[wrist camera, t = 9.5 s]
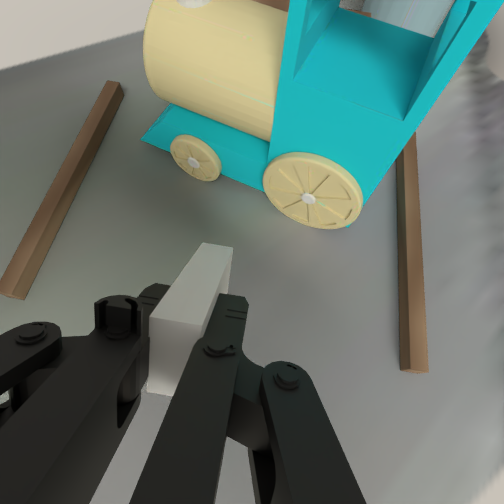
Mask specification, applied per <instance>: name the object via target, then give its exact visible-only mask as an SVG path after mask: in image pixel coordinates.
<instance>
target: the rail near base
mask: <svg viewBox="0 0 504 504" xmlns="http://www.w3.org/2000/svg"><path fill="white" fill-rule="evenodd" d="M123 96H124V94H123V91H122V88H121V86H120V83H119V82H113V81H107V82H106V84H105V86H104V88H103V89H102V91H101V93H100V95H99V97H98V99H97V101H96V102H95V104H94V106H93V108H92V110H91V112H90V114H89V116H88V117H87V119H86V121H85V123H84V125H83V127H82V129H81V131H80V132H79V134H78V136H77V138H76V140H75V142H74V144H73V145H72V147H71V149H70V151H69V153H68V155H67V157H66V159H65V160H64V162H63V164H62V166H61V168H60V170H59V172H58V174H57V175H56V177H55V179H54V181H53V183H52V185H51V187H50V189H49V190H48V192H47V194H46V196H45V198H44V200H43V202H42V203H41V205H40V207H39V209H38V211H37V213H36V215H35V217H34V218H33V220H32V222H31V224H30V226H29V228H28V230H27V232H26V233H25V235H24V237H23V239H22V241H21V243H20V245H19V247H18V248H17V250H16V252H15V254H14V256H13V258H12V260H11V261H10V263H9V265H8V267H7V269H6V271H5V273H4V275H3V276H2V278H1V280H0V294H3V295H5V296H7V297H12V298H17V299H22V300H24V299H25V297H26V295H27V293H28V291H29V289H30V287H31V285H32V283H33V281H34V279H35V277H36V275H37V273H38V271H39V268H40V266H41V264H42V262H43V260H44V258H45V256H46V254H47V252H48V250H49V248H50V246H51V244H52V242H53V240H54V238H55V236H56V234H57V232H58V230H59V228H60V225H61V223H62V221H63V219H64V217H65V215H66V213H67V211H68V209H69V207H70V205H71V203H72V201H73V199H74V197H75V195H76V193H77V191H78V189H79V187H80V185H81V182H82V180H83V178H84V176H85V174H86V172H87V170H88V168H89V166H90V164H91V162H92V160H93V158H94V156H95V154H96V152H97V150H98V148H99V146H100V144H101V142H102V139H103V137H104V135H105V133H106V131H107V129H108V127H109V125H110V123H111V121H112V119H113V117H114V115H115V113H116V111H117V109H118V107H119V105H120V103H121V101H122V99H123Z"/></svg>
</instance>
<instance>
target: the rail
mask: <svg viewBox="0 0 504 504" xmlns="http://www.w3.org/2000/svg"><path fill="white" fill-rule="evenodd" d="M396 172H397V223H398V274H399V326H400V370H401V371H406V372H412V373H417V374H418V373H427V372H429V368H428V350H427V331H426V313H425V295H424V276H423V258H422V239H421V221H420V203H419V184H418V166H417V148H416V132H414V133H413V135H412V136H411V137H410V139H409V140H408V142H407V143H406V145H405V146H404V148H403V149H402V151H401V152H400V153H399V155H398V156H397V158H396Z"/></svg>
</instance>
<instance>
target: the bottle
mask: <svg viewBox="0 0 504 504" xmlns="http://www.w3.org/2000/svg"><path fill="white" fill-rule="evenodd" d="M452 1H453V0H365V2H364V5H363V8H362V11H363V12H369V13H371V18H374V19H377V20H380V21H383V22H386V23H389V24H392V25H395V26H398V27H401V28H404V29H407V30H411V31H414V32H417V33H420V34H423V35H426V36H429V37H433V35H434V33H435V31H436V29H437V28H438V26H439V24H440V22H441V20H442V19H443V17H444V15H445V13H446V11H447V10H448V8H449V6H450V4H451V2H452Z"/></svg>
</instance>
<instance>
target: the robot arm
mask: <svg viewBox="0 0 504 504" xmlns="http://www.w3.org/2000/svg"><path fill="white" fill-rule="evenodd" d="M232 255H233V247H227V246H221V245H215V244H209V243H203V242H202V244H201V245H200V246H199V248H198V249H197V251H196V252H195V253H194V255H193V256H192V258H191V259H190V260H189V262H188V263H187V265H186V266H185V267H184V269H183V270H182V272H181V273H180V274H179V276H178V277H177V279H176V280H175V281H174V283H173V284H172V286H170V285H164V284H158V283H155V284H153V285H151V286H149V287H147V288H145V289H144V290H143V291H142V292H141V294H140V295H139V297H137V298H135V297H131V296H127V295H115V296H108V297H105V298H102V299H100V300H98V301H97V302H95V303H94V311H95V329H94V330H93V331H92V332H91V333H90V334H89V335H87V336H72V337H62V335H61V330H60V327H59V326H57V325H56V324H54V323H49V322H32V323H28V324H23V325H21V326H18V327H16V328H13V329H11V330H9V331H7V332H5V333H3V334H2V335H0V395H2V394H3V393H5V392H6V391H7V390H8V393H9V400H7V401H6V402H4V403H2V404H0V504H89V503H90V501H91V499H92V497H93V495H94V493H95V491H96V489H97V487H98V485H99V483H100V481H101V479H102V478H103V476H104V474H105V472H106V470H107V468H108V466H109V464H110V462H111V460H112V458H113V456H114V454H115V452H116V450H117V448H118V446H119V444H120V442H121V440H122V438H123V437H124V435H125V433H126V431H127V429H128V427H129V425H130V423H131V421H132V419H133V417H134V415H135V413H136V411H137V409H138V407H139V404H140V401H141V389H142V387H143V385H144V384H145V382H146V380H147V392H150V393H156V394H162V395H167V396H173V397H172V400H171V402H170V405H169V407H168V410H167V412H166V415H165V417H164V419H163V422H162V424H161V427H160V429H159V432H158V434H157V437H156V439H155V441H154V444H153V446H152V449H151V451H150V454H149V456H148V459H147V461H146V463H145V466H144V468H143V471H142V473H141V476H140V478H139V481H138V483H137V485H136V488H135V490H134V493H133V495H132V498H131V500H130V503H129V504H215V499H216V493H217V488H218V482H219V476H220V470H221V465H222V459H223V453H224V448H225V442H226V437H227V436H228V437H230V438H232V439H233V440H235V441H237V442H239V443H241V444H243V445H245V446H246V447H248V456H249V463H250V470H251V476H252V483H253V490H254V496H255V503H256V504H366V502H365V499H364V497H363V495H362V492H361V490H360V488H359V486H358V483H357V481H356V479H355V477H354V474H353V472H352V470H351V468H350V465H349V463H348V461H347V459H346V456H345V454H344V452H343V450H342V447H341V445H340V443H339V441H338V438H337V436H336V434H335V432H334V429H333V427H332V425H331V423H330V420H329V418H328V416H327V414H326V411H325V409H324V407H323V405H322V402H321V400H320V398H319V396H318V393H317V391H316V389H315V387H314V384H313V382H312V380H311V378H310V376H309V375H308V374H307V372H306V371H305V370H303V369H302V368H301V367H299V366H298V365H295V364H293V363H290V362H284V361H278V362H272V363H270V364H268V365H267V366H266V367H265V368H263V367H261V366H259V365H257V364H255V363H253V362H251V361H250V360H249V359H248V358H247V357H246V356H245V355H244V353H243V351H242V343H243V337H244V331H245V325H246V318H247V312H248V306H249V304H248V302H247V301H246V299H245V297H241V296H235V295H229V294H227V293H228V285H229V277H230V270H231V262H232Z"/></svg>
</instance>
